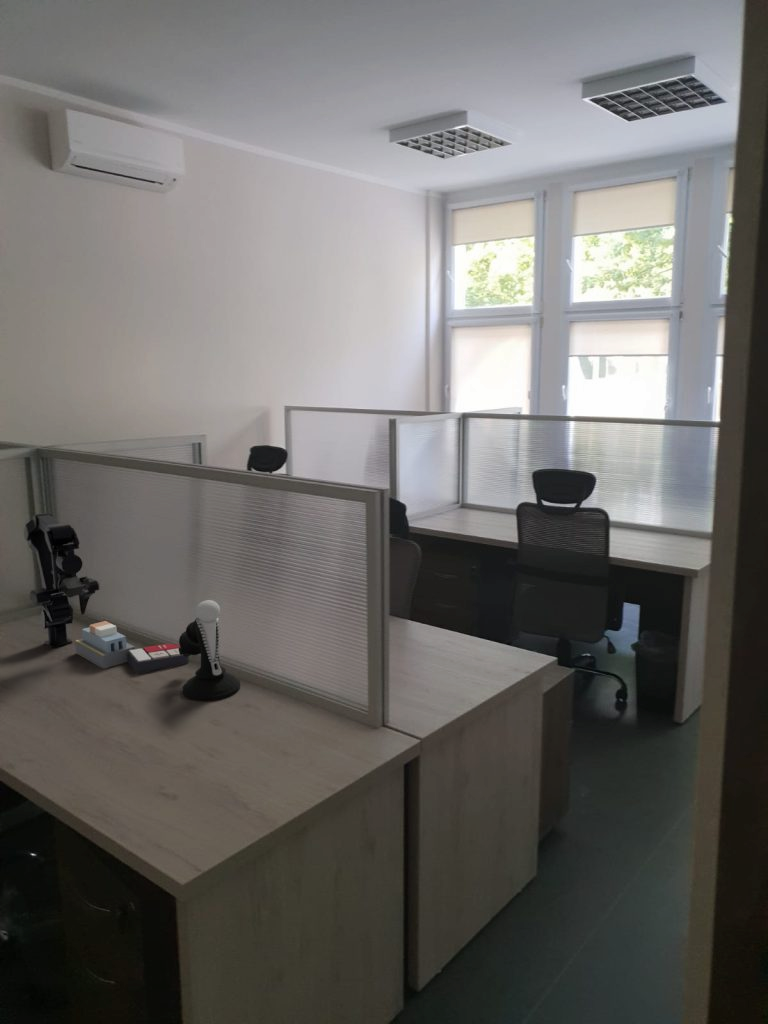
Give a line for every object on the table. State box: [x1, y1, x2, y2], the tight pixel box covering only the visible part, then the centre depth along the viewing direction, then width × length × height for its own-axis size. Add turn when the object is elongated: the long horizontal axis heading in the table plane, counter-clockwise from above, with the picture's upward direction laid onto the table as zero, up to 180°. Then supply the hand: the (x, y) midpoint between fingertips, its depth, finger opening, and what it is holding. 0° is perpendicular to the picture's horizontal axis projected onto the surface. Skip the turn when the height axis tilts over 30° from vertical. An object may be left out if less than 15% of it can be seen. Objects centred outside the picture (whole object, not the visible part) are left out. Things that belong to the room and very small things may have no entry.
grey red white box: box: [127, 643, 190, 675], centre depth 230 cm, size 11×4×15 cm
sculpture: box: [178, 599, 241, 702], centre depth 211 cm, size 15×24×25 cm, turn 38°
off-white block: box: [95, 623, 118, 638], centre depth 232 cm, size 4×5×2 cm
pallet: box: [81, 626, 127, 653], centre depth 234 cm, size 16×6×4 cm, turn 45°
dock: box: [74, 638, 136, 670], centre depth 235 cm, size 18×10×4 cm, turn 45°
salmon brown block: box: [89, 620, 112, 634], centre depth 235 cm, size 4×5×2 cm
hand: (67, 617), depth 234 cm, fingers open, 9 cm apart
